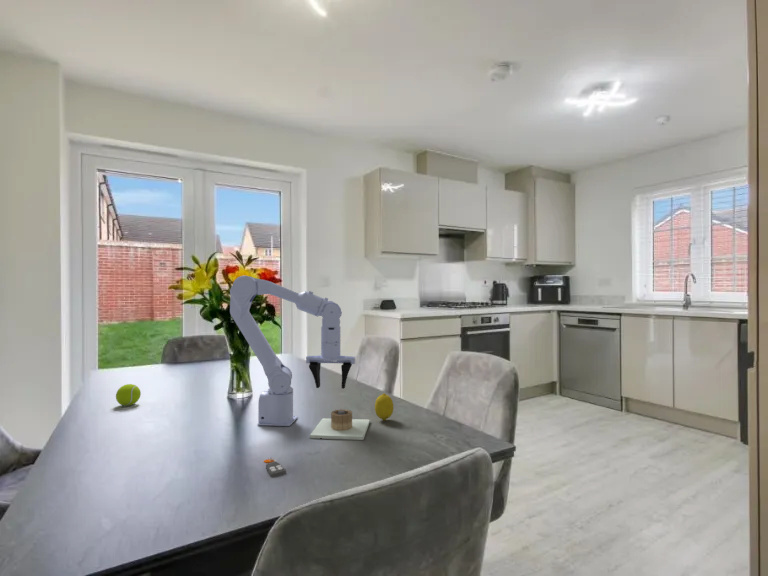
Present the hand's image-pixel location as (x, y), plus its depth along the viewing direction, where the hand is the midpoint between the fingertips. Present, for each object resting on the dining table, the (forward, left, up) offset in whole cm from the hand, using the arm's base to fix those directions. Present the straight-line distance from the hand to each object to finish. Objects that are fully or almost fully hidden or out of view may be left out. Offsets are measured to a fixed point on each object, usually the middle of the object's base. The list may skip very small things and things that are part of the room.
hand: (330, 387), depth 124 cm
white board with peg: (+5, -9, -9) cm, 14 cm away
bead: (+5, -9, -9) cm, 13 cm away
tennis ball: (-70, +8, -10) cm, 71 cm away
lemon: (+16, 0, -10) cm, 19 cm away
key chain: (-6, -32, -10) cm, 34 cm away
